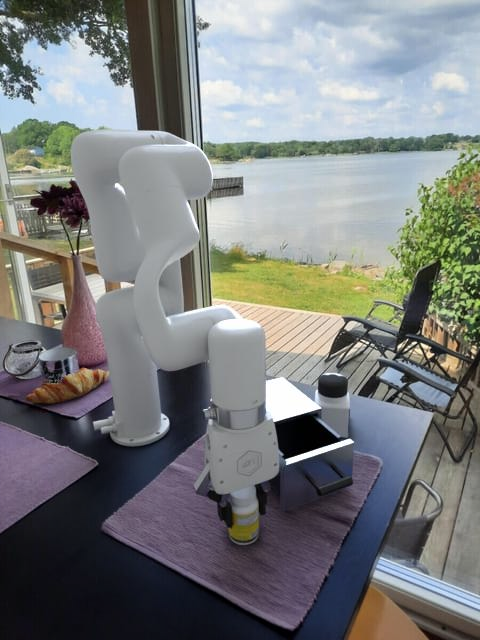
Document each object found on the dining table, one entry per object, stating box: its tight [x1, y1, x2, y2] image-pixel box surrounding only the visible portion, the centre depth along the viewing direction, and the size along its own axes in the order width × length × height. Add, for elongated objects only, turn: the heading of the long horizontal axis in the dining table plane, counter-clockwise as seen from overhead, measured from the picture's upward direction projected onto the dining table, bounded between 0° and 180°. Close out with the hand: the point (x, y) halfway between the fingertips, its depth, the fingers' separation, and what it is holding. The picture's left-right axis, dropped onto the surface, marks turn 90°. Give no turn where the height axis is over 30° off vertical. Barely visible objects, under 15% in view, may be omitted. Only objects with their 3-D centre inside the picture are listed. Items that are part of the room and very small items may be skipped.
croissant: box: [25, 366, 110, 405], centre depth 112 cm, size 21×10×8 cm, turn 134°
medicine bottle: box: [314, 372, 351, 439], centre depth 92 cm, size 7×7×12 cm
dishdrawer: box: [266, 376, 322, 425], centre depth 87 cm, size 15×15×11 cm
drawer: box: [270, 414, 355, 512], centre depth 75 cm, size 18×13×9 cm
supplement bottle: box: [227, 485, 260, 546], centre depth 66 cm, size 5×5×8 cm
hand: (243, 514), depth 66 cm, fingers closed on supplement bottle, 4 cm apart
